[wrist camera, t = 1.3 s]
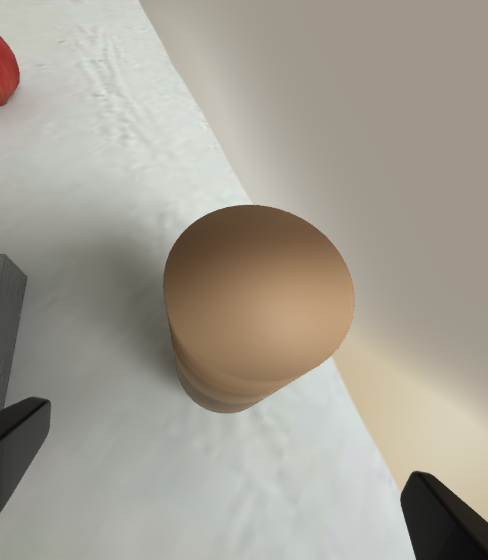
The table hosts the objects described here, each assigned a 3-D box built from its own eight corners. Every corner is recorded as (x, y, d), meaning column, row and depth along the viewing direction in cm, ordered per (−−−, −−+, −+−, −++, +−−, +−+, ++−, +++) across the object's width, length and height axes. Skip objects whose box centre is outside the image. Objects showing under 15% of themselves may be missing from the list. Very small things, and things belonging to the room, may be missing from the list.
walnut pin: (274, 409, 20) (381, 365, 9) (181, 423, 19) (167, 394, 8) (258, 322, 23) (325, 203, 12) (175, 330, 22) (159, 206, 10)
